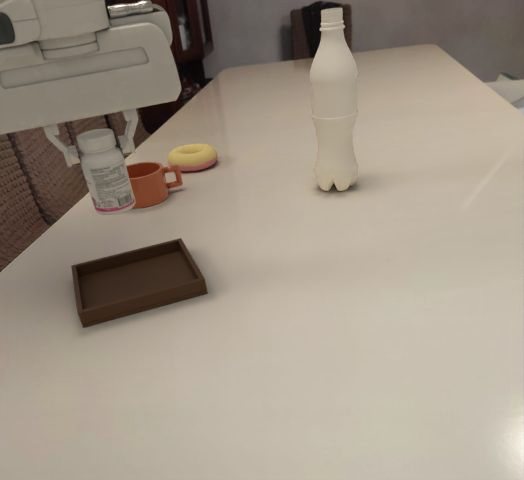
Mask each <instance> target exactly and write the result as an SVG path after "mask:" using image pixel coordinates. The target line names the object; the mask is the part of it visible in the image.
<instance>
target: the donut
mask: <svg viewBox="0 0 524 480" xmlns="http://www.w3.org/2000/svg"><path fill="white" fill-rule="evenodd" d="M217 160H218V152H217V150H216V148H215V147H214V146H212V145H210V144H208V143H189V144H184V145H180V146H177V147H174V148H172V149H171V150H170V152H169V153H168V155H167V163H168V166H172V165H179V167H180V172H196V171H197V172H198V171H202V170H205V169H207V168H209V167H212V166H214V165H215V163H217Z"/></svg>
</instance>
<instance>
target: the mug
mask: <svg viewBox="0 0 524 480" xmlns="http://www.w3.org/2000/svg"><path fill="white" fill-rule="evenodd" d="M126 168H127V172H128V175H129V179H130V183H131V187H132V190H133V194H134V197H135V201H136V203H135V205H134V207H133V208H132V209H141V208H148V207H152V206H156V205H158V204H160V203H162V202H164V201H166V200H167V199H168V198H169V195H170V194H169V189H170V190H171V189H174V188H178V187H182V186H183V184H184V182H183V178H182V173H181V172H182V171H180V167H179V165H172V166H170V165H168V166H163V164H162V163H160V162H157V161H140V162H135V163H130V164H126ZM173 172H174V175H175V180H173V181H169V182H167V178H166V174H168V173H173Z"/></svg>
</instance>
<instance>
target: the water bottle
mask: <svg viewBox="0 0 524 480" xmlns="http://www.w3.org/2000/svg"><path fill="white" fill-rule="evenodd" d="M343 13H344V11H343V7H331V8H325V9H321V11H320V17H321V18H320V20H321V22H320V27H319V31H320V32H321V33H320V42H319V45H318V47H317V50H316V53H315V55H314V57H313V61H312V63H311V66H310V70H309V75H308V76H309V77H308V81H309V82H310V83H309V85H310V86H309V87H310V109H311V113H310V118H311V120H312V123H313V126H314V128H315V133H316V142H317V155H316V161H315V164H314V167H313V173H314V178H315V179H316V183H317V185H318V186H319V188H320V189H321V190H322V191H326V192H329V191H330V190H331V189H332V186H334V185H335V188H336V190H337V191H338V192H343V191H346V190H348V188H349V187H350V186H353V185H354V184H355V183H356V181H357V178H358V172H359V163H358V162H357V161H358V160H357V158H356V154H355V150H354V141H353V138H354V129H355V125H356V121H357V119H358V116H359V108H358V76H359V69H358V66H357V63H356V60H355V58H354V56H353V54H352V51H351V49H350V47H349V46H348V43H347V41H346V38H345V33H344V29H345V28H346V25H345V24H344V22H345V21H344V19H343V18H344V17H343Z"/></svg>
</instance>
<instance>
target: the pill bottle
mask: <svg viewBox="0 0 524 480" xmlns="http://www.w3.org/2000/svg"><path fill="white" fill-rule="evenodd" d="M75 137H76V138H75V139H76V142H77V146H78V149H79V151H80V153H81V154H80V155H79V158H80V162H81V165H80V166H81V167H80V168H81V170H82V173H83V176H84V179H85V183H86V186H87V189H88V191H89V192H88V193H89V195H90V198H91V201H92V204H93V207H94V210H95V212H96V213H97V214H99V215H102V216H115V215H120V214H124V213H126V212H128V211H130V210H132V209H134V208H133V207H134V205H135V203H136V201H135V197H134V194H133V190H132V187H131V183H130V179H129V175H128V172H127V168H126V166H127V164H126V160H125V155H124V156H123V153H122V151H121V149H120V147H118V146H117V140H116V137H115V133H114V131H113V129H111V128H97V129H91V130H88V131H84V132H81V133H79V134H78V135H77V136H75Z"/></svg>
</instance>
